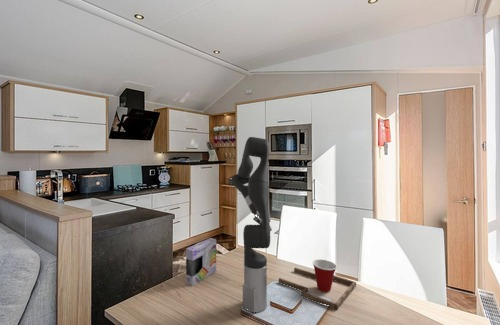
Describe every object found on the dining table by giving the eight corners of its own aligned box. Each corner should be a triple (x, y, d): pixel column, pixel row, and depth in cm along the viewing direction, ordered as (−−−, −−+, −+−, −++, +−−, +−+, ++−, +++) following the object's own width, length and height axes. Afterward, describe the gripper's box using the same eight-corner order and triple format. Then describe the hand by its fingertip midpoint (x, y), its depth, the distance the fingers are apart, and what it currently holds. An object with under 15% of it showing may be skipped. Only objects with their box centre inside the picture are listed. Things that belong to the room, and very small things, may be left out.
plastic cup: (340, 295, 113) (340, 268, 113) (315, 295, 113) (315, 268, 113) (332, 283, 124) (332, 258, 124) (310, 283, 124) (310, 258, 124)
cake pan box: (191, 287, 120) (191, 250, 120) (183, 284, 123) (183, 248, 122) (217, 271, 137) (217, 238, 136) (210, 269, 139) (209, 237, 139)
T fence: (336, 310, 102) (337, 305, 102) (274, 286, 121) (274, 281, 121) (355, 286, 121) (356, 282, 121) (298, 268, 140) (298, 265, 140)
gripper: (250, 200, 135) (267, 229, 128) (265, 198, 146) (281, 225, 138) (242, 208, 139) (257, 237, 132) (257, 205, 149) (272, 232, 142)
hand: (270, 231), depth 135 cm, fingers closed
